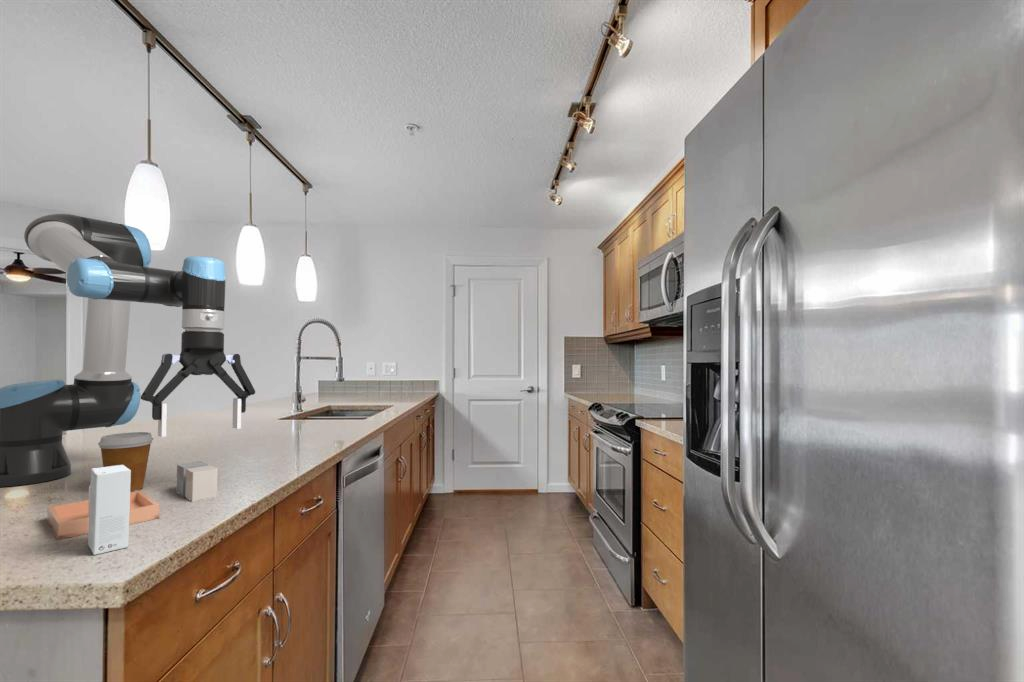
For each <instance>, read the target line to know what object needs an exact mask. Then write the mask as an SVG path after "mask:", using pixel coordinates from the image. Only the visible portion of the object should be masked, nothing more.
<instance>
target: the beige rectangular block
mask: <svg viewBox="0 0 1024 682" xmlns="http://www.w3.org/2000/svg"><path fill="white" fill-rule="evenodd" d="M218 477H219V468H218V467H217V466H213V465H211V464H210V465H209V464H208V466H202V467H196V468H189V469H186V489H185V496H184V497H186V498H187V500H188V499H190V500H191V501H195V502H197V501H196V500H200V499H205V500H207V499H206V498H210V499H212V498H211V497H215V498H217V497H218V485H219V484H218V483H219V482H218ZM216 496H217V497H216ZM186 498H185V499H186ZM190 500H189V501H190ZM191 501H190V502H191ZM200 501H201V500H200Z"/></svg>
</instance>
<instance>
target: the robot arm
mask: <svg viewBox="0 0 1024 682" xmlns="http://www.w3.org/2000/svg"><path fill="white" fill-rule="evenodd" d="M24 230H25V231H24V232H23V233H24V234H23V238H24V243H25V244H26V246H27V248H28V249H29V250H30V251H31V252H32V253H33V254H34V255H35V256H37V257H38V258H40V259H42V260H45V261H47V262H50V263H53V264H55V265H56V266H58V268H59V269H62V270H63V271H64V272H65V273H66V283H67V287H68V290H69V293H71V294H72V295H73V296H75V297H79V298H86V299H87V305H86V307H87V308H86V309H87V310H86V319H85V320H86V322H85V333H84V334H85V337H84V348H83V359H82V360H83V361H82V362H83V363H82V365H83V366H82V370H81V371H80V372H78V373H77V374H75V375H74V377H73V384H66V382H65V381H64V380H63V379H58V378H57V379H47V380H36V381H35V380H34V381H28V382H27V381H26V382H20V383H14V384H8V385H4V386H2V387H0V487H1V488H3V487H4V488H5V487H15V486H26V485H32V484H37V483H43V482H48V481H49V482H50V481H53V480H58V479H61V478H64V477H67V476H69V475H71V473H72V472H71V471H72V464H71V461H70V459H69V457H68V455H67V451H66V449H65V447H64V445H63V432H66V431H77V430H86V429H87V430H88V429H97V428H111V427H115V426H120V425H121V426H122V425H123V426H124V425H126V424H128V423H129V422H130V421H131V420H132V419H134V417H135V416H136V415H137V413H138V410H139V408H140V403H141V400H142V401H145V402H149V403H151V407H152V408H151V409H152V410H151V412H152V413H151V417H152V420H153V421H154V420H155V421H157V437H161V438H165V437H167V421H168V419H167V417H168V416H167V415H168V412H167V410H168V403H166V402H164V401H165V400H166V399H167V398H168V396H169V395H171V394H172V393H173V392H174V390H175V389H176V388H178V387H179V385H180V384H181V383H182V382H184V381H185V379H186V378H188V377H189V376H191V375H192V376H202V375H205V376H212V375H215V376H216V377H218V378H219V379H220V381H222V383H224V384H225V386H227V388H228V389H230V391H231V392H232V393H233V394H234V395H235V396H236V397H235V398H234V397H233V398H232V428H233V429H236V430H239V429H242V413H243V414H244V413H245V412H246V410H247V407H246V406H247V398H248V397H251V396H252V395H253V396H254V395H255V394H256V390H255V388H254V386H253V384H252V382H251V380H250V379H249V377H248V374H247V372H246V371H245V369H244V367H243V365H242V361H241V355H240V354H239V353H230V354H226V355H225V349H224V348H225V334H224V332H222V331H223V330H224V329H225V308H226V307H225V304H226V302H225V301H226V280H227V277H226V266H225V263H224V261H222V260H220V259H218V258H215V257H209V256H208V257H207V256H198V255H196V256H195V255H194V256H186V257H185V258H183V259H184V260H183V263H182V267H181V270H169V269H163V268H156V267H155V268H154V267H150V263H151V260H152V251H151V250H152V249H151V248H152V247H151V244H150V241H149V239H148V236H147V235H146V234H145V232H143V231H142V230H141V229H139V228H137V227H134V226H131V225H126V224H123V223H118V222H117V223H116V222H112V221H106V220H101V219H95V218H91V217H90V218H89V217H84V216H79V215H75V214H71V213H69V214H68V213H55V214H48V215H43V216H41V217H38V218H35V219H34V220H32V221H31V222H30V223H29V224H28V225H27V226H26V227H25V229H24ZM131 302H135V303H145V304H158V305H162V306H165V307H176V308H178V307H179V308H180V307H181V308H182V312H181V328H182V329H183V330H184V331H182V333H181V342H180V344H181V346H180V347H181V350H180V353H179V355H178V354H172V353H164V354H162V356H161V362H160V365H159V366H158V368H157V370H156V371H155V373H154V375H153V376H152V377H151V378H150V381H149V382H148V384H147V386H146V388H144V390H143V392H142V394H141V392H140V386H139V385H138V384H137V382H134V381H132V378H133V376H132V375H131V374H129V373H128V372H127V371H126V366H127V365H126V364H127V352H128V351H127V350H128V338H129V325H130V311H131ZM226 361H227V363H228V364H229V365H230V366H231V369H233V371H234V372H233V373H234V374H235V375H236V377H237V379H238V382H239V383H240V385H241V387H242V388H241V387H240V385H239V384H238V383H237V382H236V381H235V380H234V379H233V378H232V377H231V375H230V374H228V373H227V371H226V370H225V369H224V368H223V365H224V364H225V362H226ZM176 362H179V363H180V365H182V368H180V370H179V371H177V373H176V374H175V375H174V376H173V377H172V379H170V380H169V381H168V382H167V383H166V384H165V385H164V386H163V387H162V388H161V389H160V390H159V391H158V389H159V387H160V385H161V384H162V382H163V380H164V379H165V377H166V376H167V374H168V372H169V371H170V369H171V366H175V364H176ZM157 391H158V392H157ZM156 392H157V393H156ZM155 393H156V394H155Z"/></svg>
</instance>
